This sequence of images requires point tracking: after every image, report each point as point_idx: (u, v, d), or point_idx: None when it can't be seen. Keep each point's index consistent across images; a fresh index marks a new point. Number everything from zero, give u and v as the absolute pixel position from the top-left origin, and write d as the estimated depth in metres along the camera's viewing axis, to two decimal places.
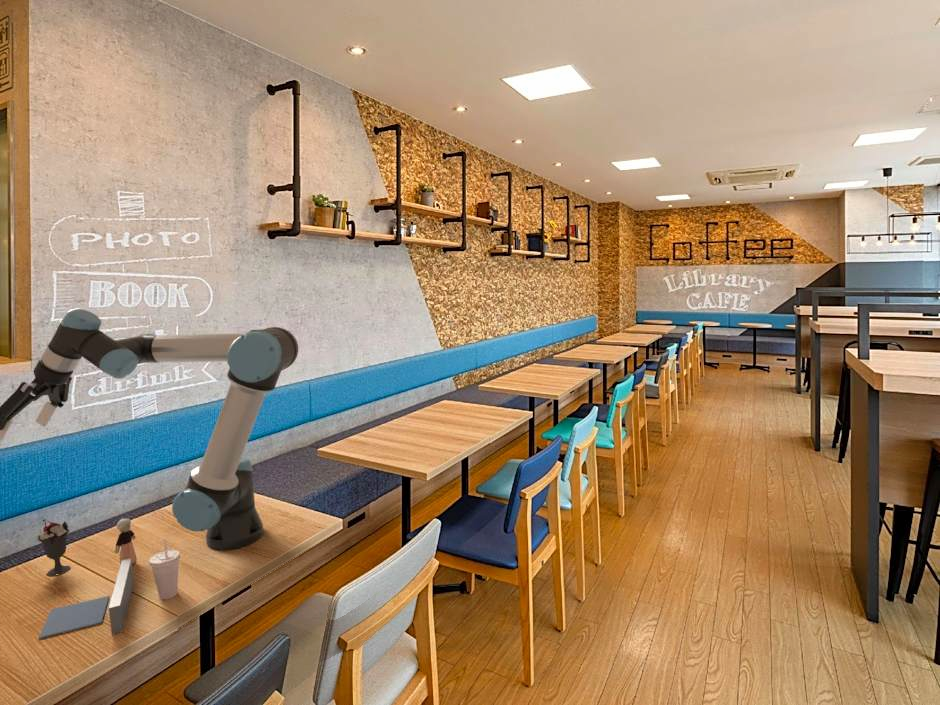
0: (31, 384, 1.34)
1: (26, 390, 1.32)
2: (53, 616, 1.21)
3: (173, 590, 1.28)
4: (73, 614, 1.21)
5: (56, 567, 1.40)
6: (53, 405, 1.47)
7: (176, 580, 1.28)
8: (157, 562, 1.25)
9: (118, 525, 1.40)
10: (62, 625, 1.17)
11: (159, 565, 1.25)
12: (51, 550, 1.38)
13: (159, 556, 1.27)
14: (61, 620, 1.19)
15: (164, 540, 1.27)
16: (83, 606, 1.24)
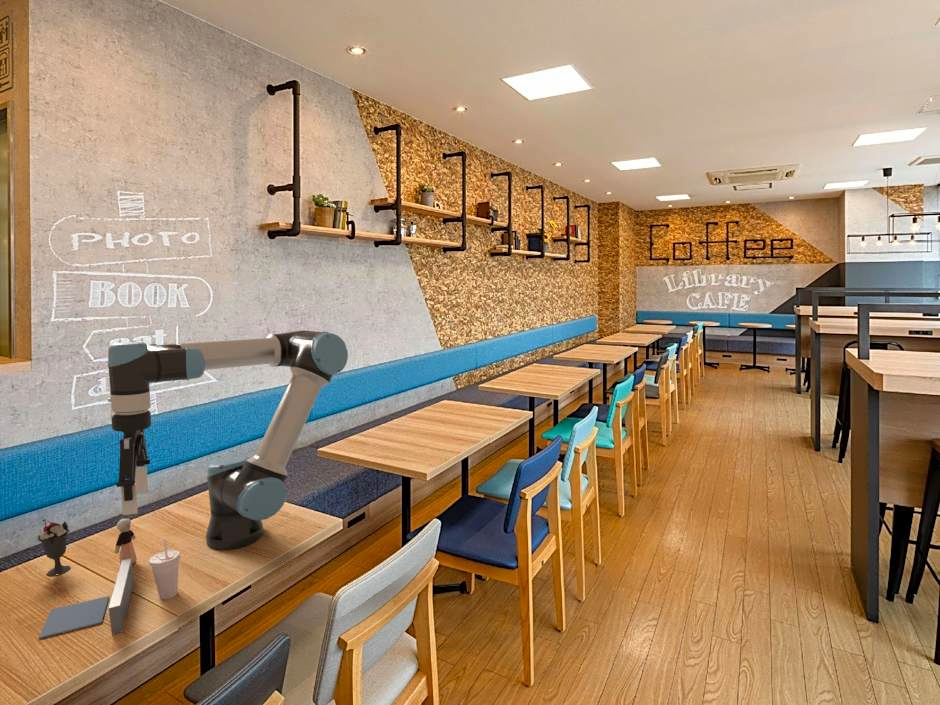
0: (127, 439, 1.18)
1: (130, 444, 1.17)
2: (53, 616, 1.21)
3: (173, 590, 1.28)
4: (73, 614, 1.21)
5: (56, 567, 1.40)
6: (142, 466, 1.30)
7: (176, 580, 1.28)
8: (157, 562, 1.25)
9: (118, 525, 1.40)
10: (62, 625, 1.17)
11: (159, 565, 1.25)
12: (51, 550, 1.38)
13: (159, 556, 1.27)
14: (61, 620, 1.19)
15: (164, 540, 1.27)
16: (83, 606, 1.24)
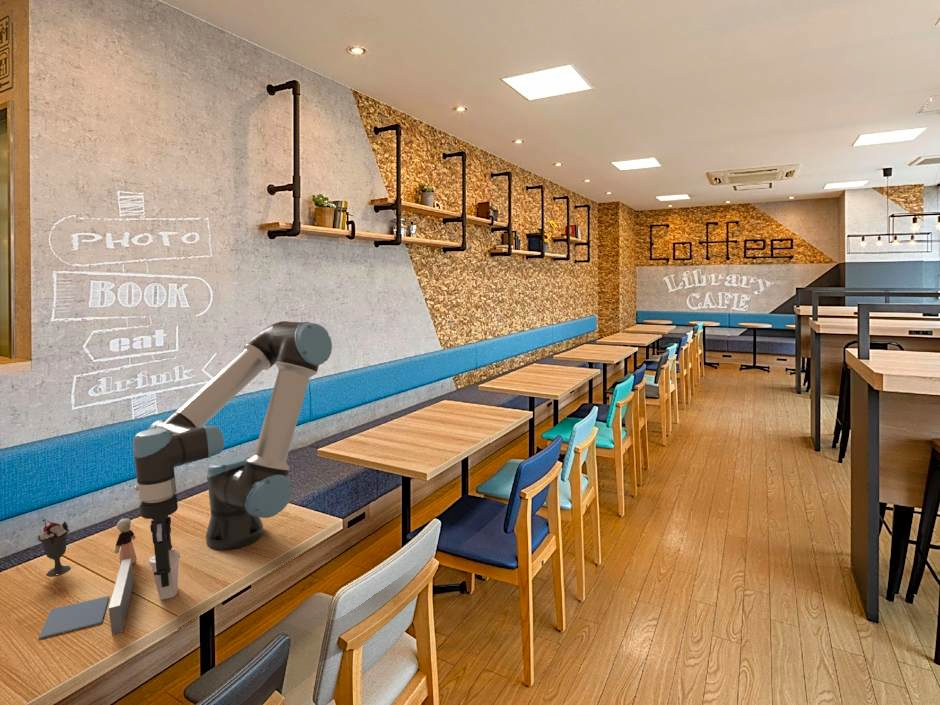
0: (159, 530, 1.22)
1: (163, 537, 1.21)
2: (53, 616, 1.21)
3: (173, 590, 1.28)
4: (73, 614, 1.21)
5: (56, 567, 1.40)
6: None
7: (176, 580, 1.28)
8: None
9: (118, 525, 1.40)
10: (62, 625, 1.17)
11: None
12: (51, 550, 1.38)
13: None
14: (61, 620, 1.19)
15: None
16: (83, 606, 1.24)
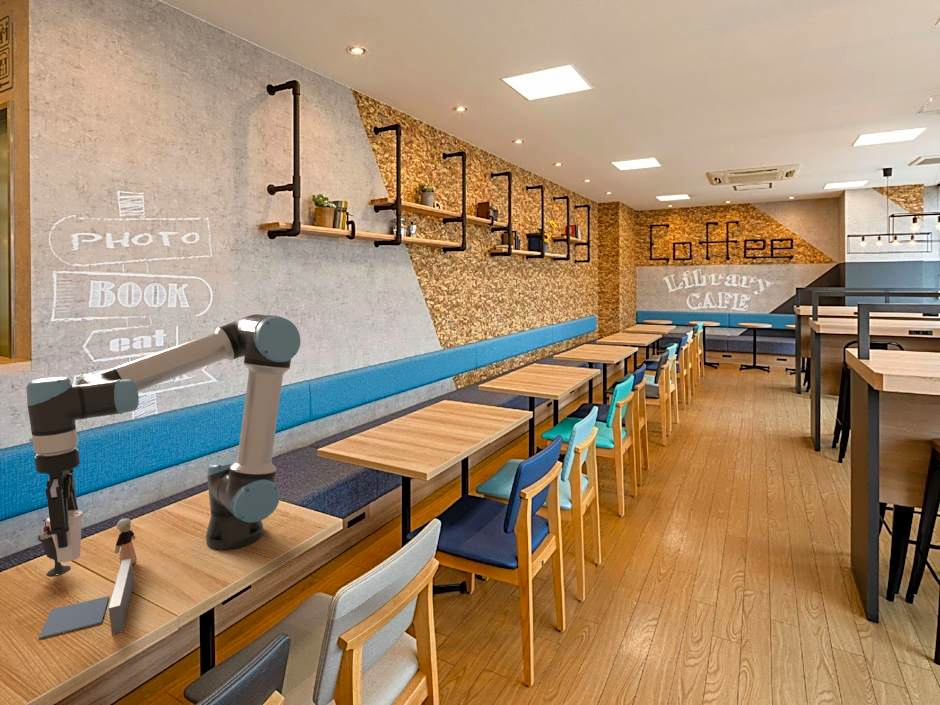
0: (54, 485, 1.12)
1: (58, 493, 1.11)
2: (53, 616, 1.21)
3: (74, 552, 1.18)
4: (73, 614, 1.21)
5: (56, 567, 1.40)
6: None
7: (78, 542, 1.19)
8: None
9: (118, 525, 1.40)
10: (62, 625, 1.17)
11: None
12: (51, 550, 1.38)
13: None
14: (61, 620, 1.19)
15: None
16: (83, 606, 1.24)
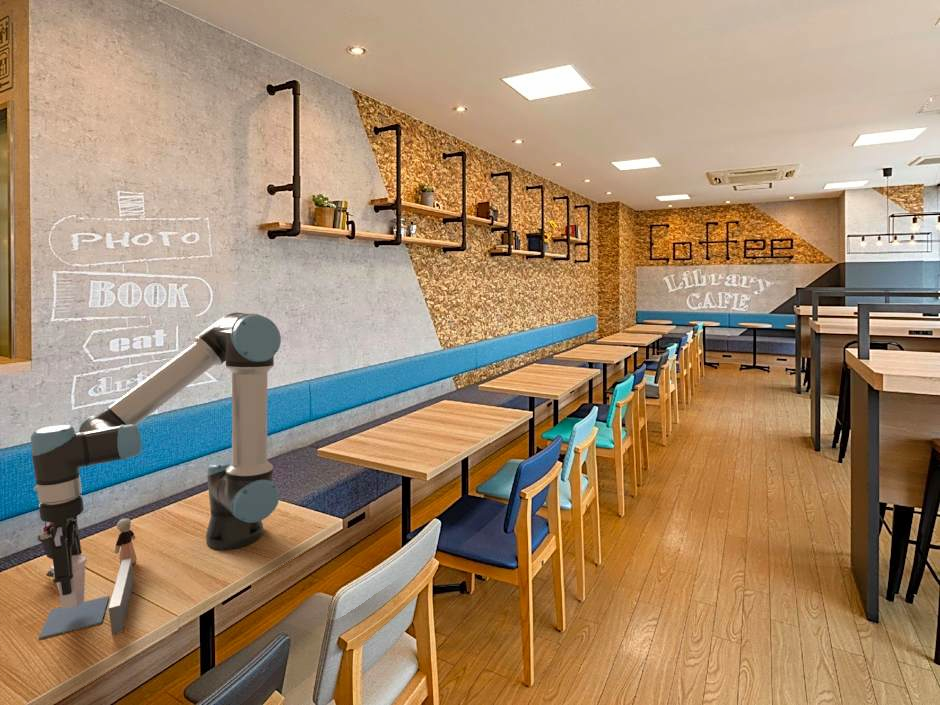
0: (58, 534, 1.13)
1: (62, 542, 1.13)
2: (53, 616, 1.21)
3: (78, 598, 1.19)
4: (73, 614, 1.21)
5: None
6: None
7: (81, 587, 1.20)
8: None
9: (118, 525, 1.40)
10: (62, 625, 1.17)
11: None
12: (51, 550, 1.38)
13: None
14: (61, 620, 1.19)
15: None
16: (83, 606, 1.24)
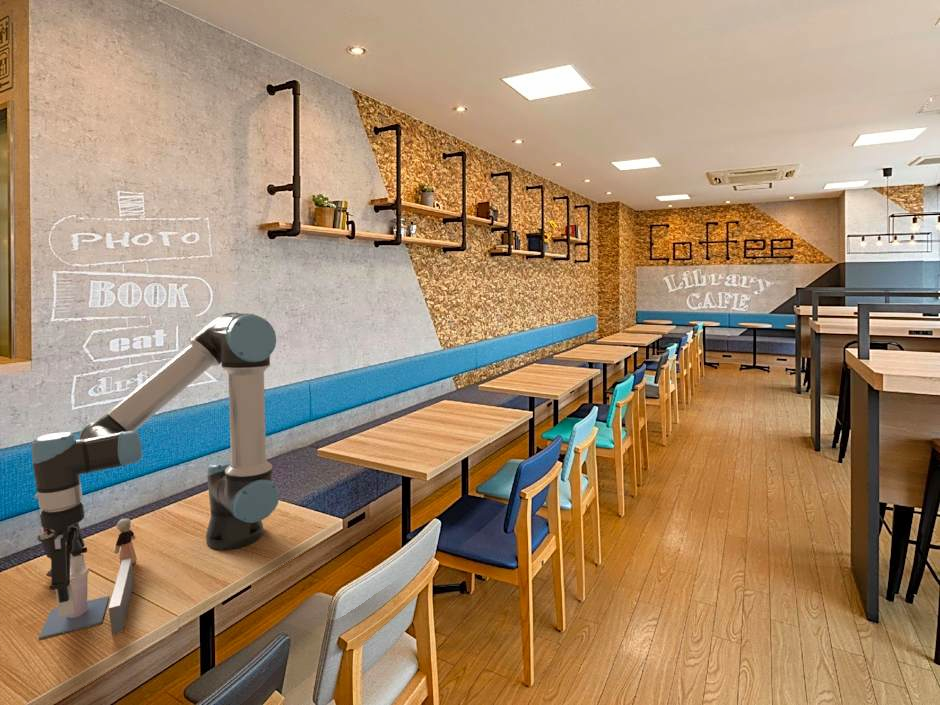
0: (59, 537, 1.14)
1: (62, 544, 1.12)
2: (53, 616, 1.21)
3: (81, 608, 1.21)
4: None
5: None
6: (78, 555, 1.26)
7: (84, 597, 1.21)
8: None
9: (118, 525, 1.40)
10: (62, 625, 1.17)
11: None
12: None
13: None
14: (61, 620, 1.19)
15: None
16: None
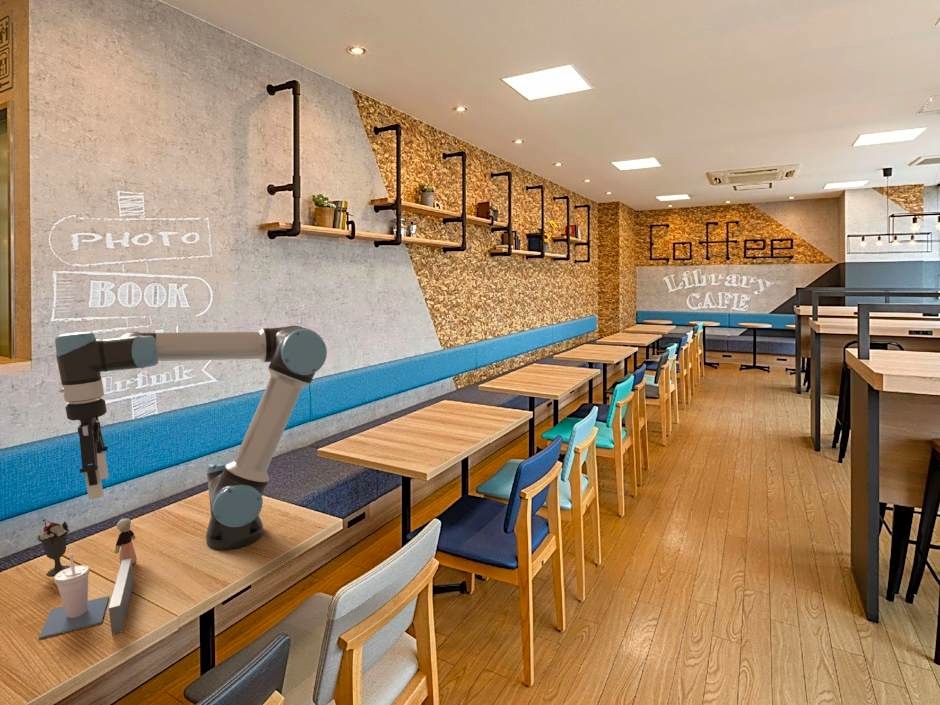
0: None
1: (89, 431, 1.20)
2: (53, 616, 1.21)
3: (81, 608, 1.21)
4: None
5: (56, 567, 1.40)
6: (100, 452, 1.33)
7: (85, 597, 1.21)
8: (62, 579, 1.18)
9: (118, 525, 1.40)
10: (62, 625, 1.17)
11: (63, 582, 1.18)
12: (51, 550, 1.38)
13: (66, 572, 1.20)
14: (61, 620, 1.19)
15: (70, 555, 1.20)
16: None
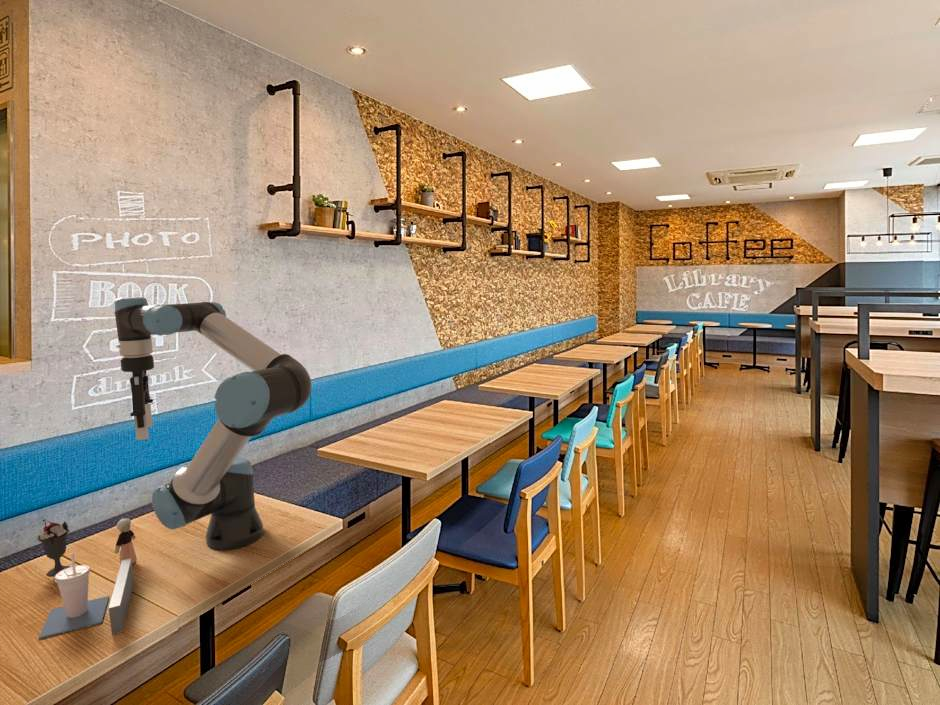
0: None
1: (140, 381, 1.40)
2: (53, 616, 1.21)
3: (81, 608, 1.21)
4: None
5: (56, 567, 1.40)
6: (146, 404, 1.54)
7: (85, 597, 1.21)
8: (62, 578, 1.18)
9: (118, 525, 1.40)
10: (62, 625, 1.17)
11: (64, 581, 1.18)
12: (51, 550, 1.38)
13: (67, 571, 1.20)
14: (61, 620, 1.19)
15: (71, 555, 1.20)
16: None
